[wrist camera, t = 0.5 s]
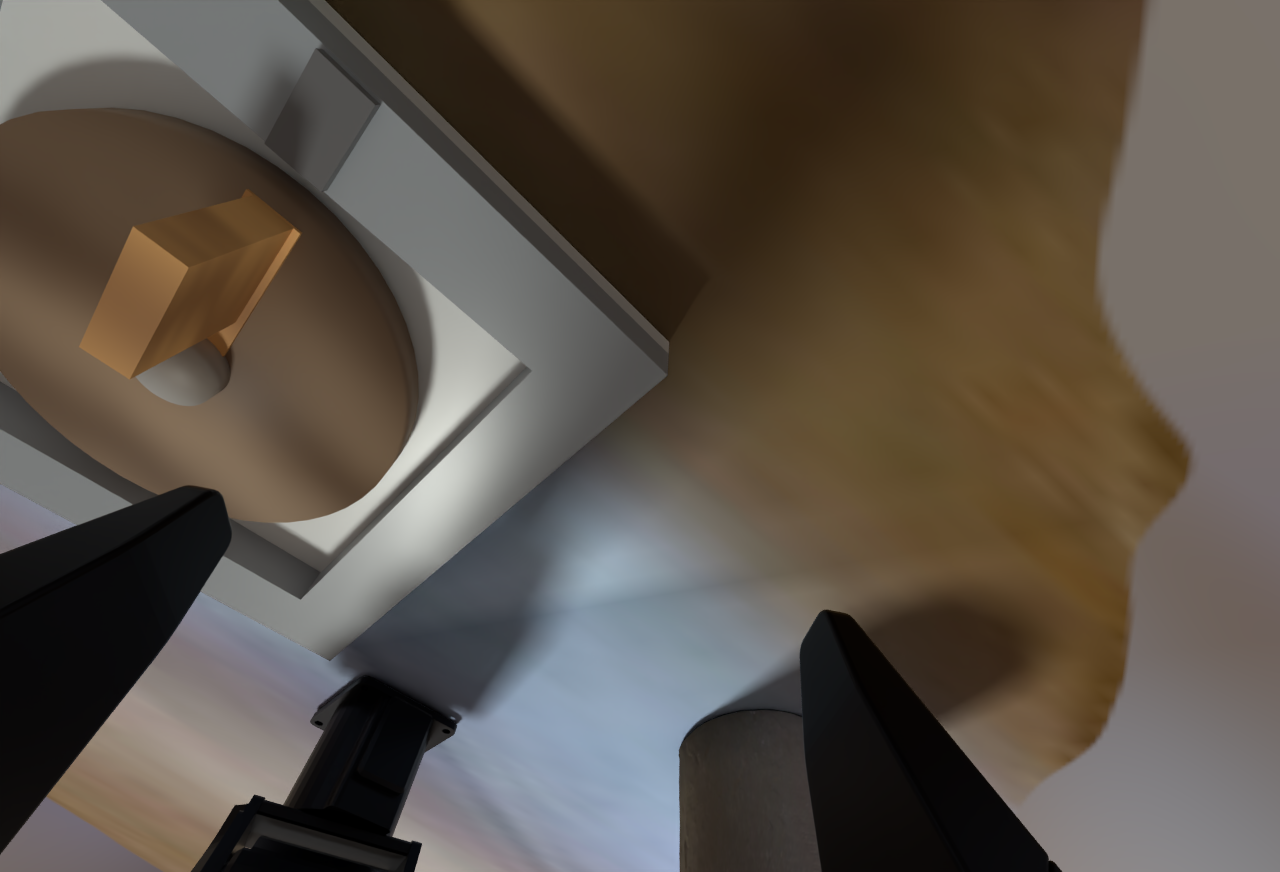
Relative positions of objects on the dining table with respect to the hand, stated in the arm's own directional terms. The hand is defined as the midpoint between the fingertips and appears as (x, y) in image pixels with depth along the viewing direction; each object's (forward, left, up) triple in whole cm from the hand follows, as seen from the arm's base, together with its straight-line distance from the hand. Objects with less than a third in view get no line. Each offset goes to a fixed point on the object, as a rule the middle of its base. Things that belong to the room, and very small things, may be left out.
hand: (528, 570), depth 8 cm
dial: (-11, +9, -11) cm, 18 cm away
